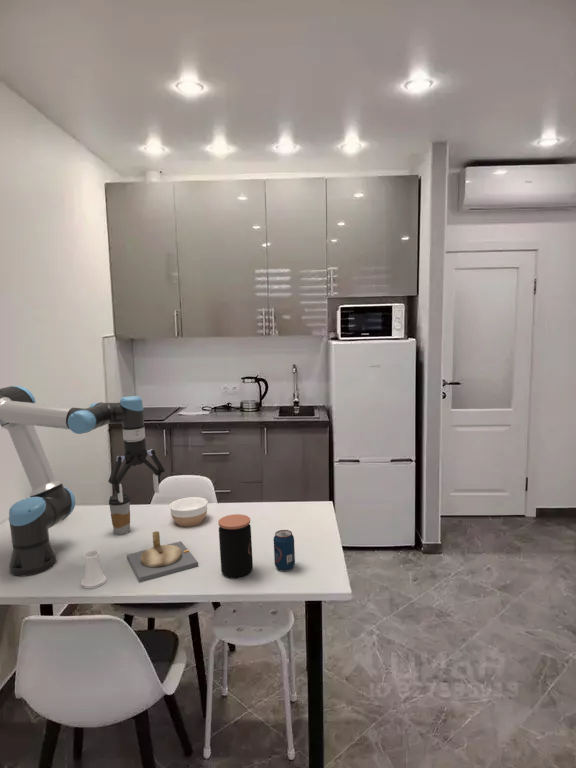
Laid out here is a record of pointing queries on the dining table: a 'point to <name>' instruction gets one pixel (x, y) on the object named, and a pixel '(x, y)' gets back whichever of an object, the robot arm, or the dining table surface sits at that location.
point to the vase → (92, 571)
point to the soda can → (284, 550)
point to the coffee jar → (235, 546)
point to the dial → (160, 553)
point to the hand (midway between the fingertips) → (139, 496)
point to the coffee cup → (120, 513)
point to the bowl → (189, 510)
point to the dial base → (154, 572)
